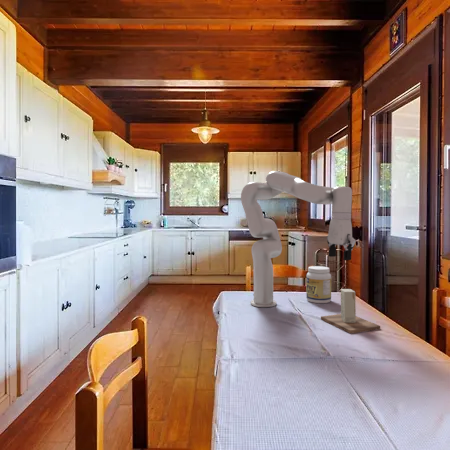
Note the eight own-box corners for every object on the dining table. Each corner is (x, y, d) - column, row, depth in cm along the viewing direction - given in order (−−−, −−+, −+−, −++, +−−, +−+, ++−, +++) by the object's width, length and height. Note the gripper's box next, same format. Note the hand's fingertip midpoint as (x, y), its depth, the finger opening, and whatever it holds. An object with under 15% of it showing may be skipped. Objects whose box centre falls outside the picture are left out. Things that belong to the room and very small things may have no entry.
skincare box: (356, 323, 131) (356, 292, 130) (344, 323, 131) (344, 292, 131) (351, 318, 137) (351, 288, 137) (340, 318, 138) (340, 288, 137)
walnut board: (320, 319, 140) (320, 316, 140) (348, 315, 145) (348, 313, 145) (350, 333, 123) (350, 330, 123) (380, 329, 128) (380, 325, 128)
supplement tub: (301, 299, 173) (301, 266, 172) (319, 296, 178) (319, 265, 178) (318, 305, 162) (318, 270, 161) (336, 301, 168) (336, 268, 167)
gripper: (321, 216, 145) (319, 255, 146) (347, 217, 128) (345, 261, 129) (335, 216, 147) (334, 255, 148) (363, 217, 131) (361, 261, 132)
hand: (339, 258), depth 139 cm, fingers open, 9 cm apart
